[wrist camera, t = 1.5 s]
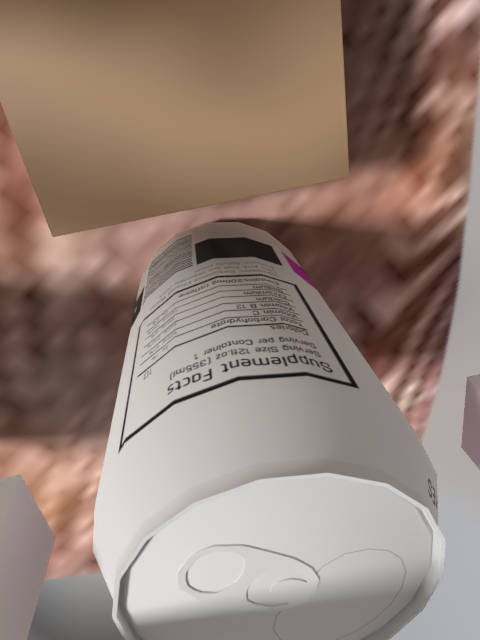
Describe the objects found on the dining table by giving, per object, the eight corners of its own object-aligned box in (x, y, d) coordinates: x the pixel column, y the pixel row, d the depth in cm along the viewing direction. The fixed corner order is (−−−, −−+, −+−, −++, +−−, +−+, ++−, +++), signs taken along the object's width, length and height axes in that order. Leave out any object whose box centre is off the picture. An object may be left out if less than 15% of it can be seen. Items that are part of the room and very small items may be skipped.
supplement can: (331, 264, 22) (554, 518, 9) (248, 386, 25) (326, 713, 12) (187, 184, 20) (205, 377, 6) (113, 330, 22) (20, 672, 9)
